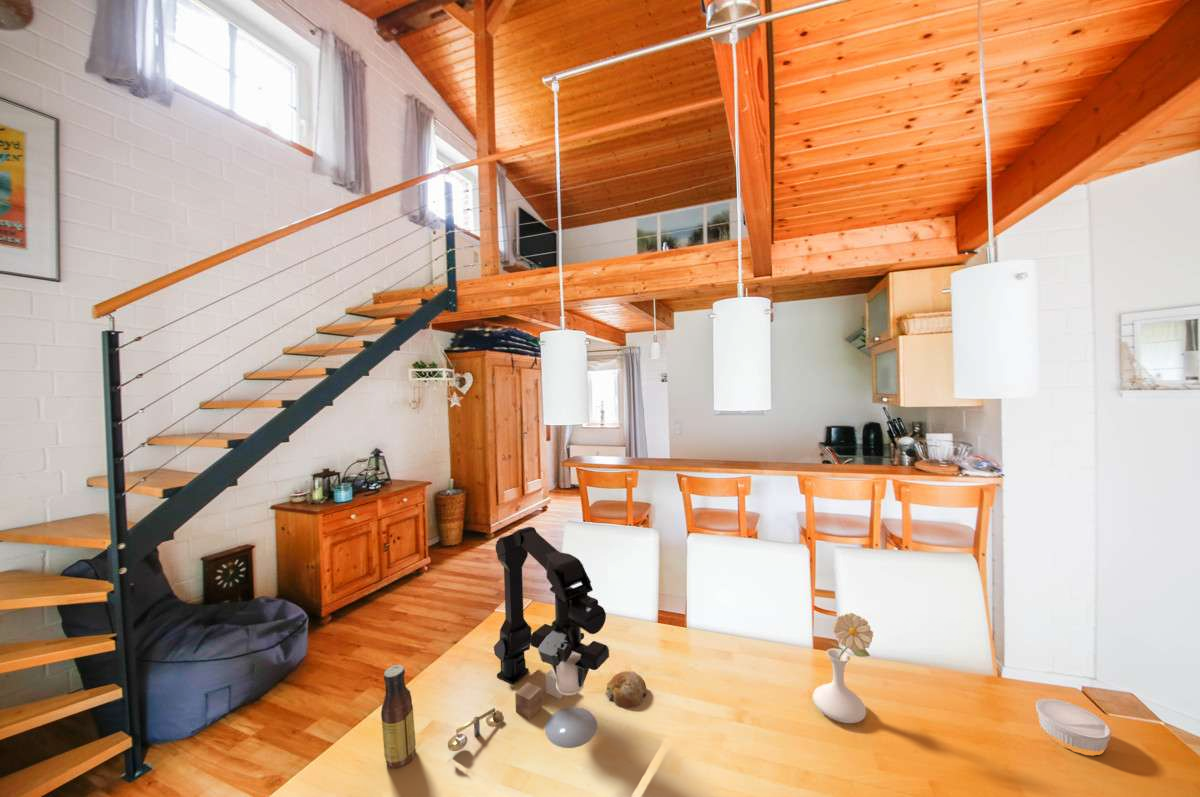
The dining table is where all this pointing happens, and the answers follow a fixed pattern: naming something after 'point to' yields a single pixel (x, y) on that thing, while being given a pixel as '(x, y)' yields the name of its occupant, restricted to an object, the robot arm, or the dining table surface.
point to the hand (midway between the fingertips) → (569, 681)
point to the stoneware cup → (568, 676)
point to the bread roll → (626, 689)
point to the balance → (461, 740)
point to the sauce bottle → (397, 719)
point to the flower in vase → (836, 695)
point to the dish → (571, 727)
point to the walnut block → (528, 700)
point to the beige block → (552, 684)
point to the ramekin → (1073, 724)
